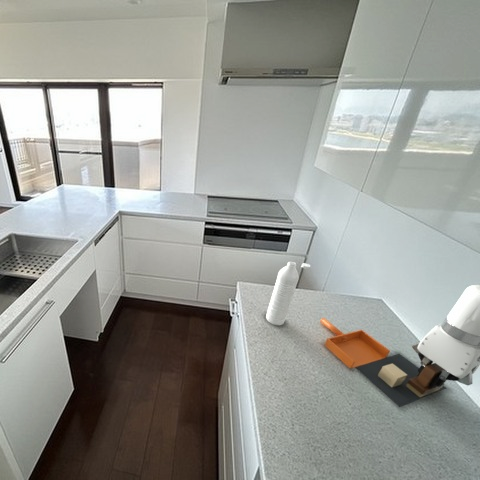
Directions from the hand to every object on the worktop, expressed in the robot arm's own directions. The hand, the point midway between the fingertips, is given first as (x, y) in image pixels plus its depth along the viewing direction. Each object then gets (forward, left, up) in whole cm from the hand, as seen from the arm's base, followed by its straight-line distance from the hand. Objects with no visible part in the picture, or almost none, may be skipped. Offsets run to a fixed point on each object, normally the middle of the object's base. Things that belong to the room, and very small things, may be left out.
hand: (427, 380), depth 72 cm
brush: (0, 0, -3) cm, 3 cm away
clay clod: (+7, -5, -3) cm, 9 cm away
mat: (+3, -4, -4) cm, 6 cm away
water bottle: (+22, -34, -4) cm, 40 cm away
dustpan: (+7, -20, -4) cm, 21 cm away
